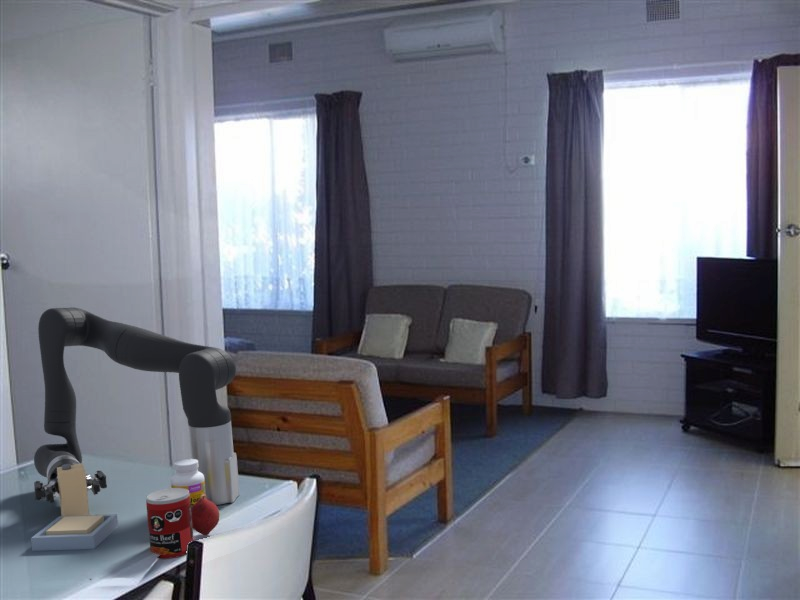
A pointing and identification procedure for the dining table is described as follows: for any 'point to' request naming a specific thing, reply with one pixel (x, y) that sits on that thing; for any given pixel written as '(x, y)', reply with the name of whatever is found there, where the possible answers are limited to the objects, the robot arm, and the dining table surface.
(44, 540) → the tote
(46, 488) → the robot arm
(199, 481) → the supplement bottle
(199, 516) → the onion
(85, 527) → the beige slab
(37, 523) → the dining table surface
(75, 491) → the carton
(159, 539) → the canned food
